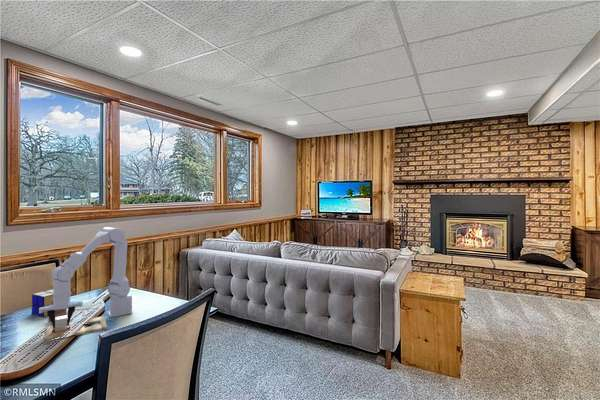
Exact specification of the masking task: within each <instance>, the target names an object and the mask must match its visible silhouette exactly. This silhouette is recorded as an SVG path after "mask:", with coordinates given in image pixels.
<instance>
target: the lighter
mask: <svg viewBox="0 0 600 400" xmlns="http://www.w3.org/2000/svg"><path fill="white" fill-rule="evenodd" d="M51 305H53V300H52V304H51ZM49 306H50V305H49ZM66 314H67V315H68V308H67V309H61V310H55V318H56V317H59V316H64V315H66ZM48 323H52V322H51V320H50V318H49V317H48Z"/></svg>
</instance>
